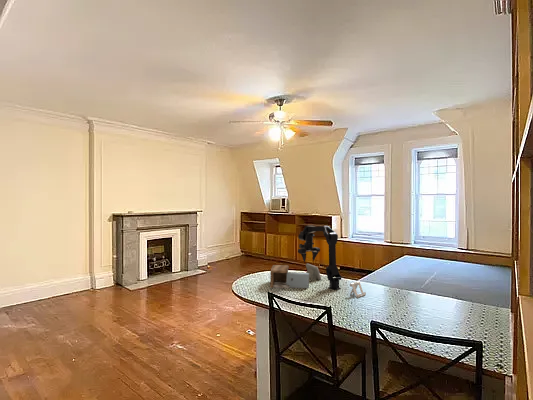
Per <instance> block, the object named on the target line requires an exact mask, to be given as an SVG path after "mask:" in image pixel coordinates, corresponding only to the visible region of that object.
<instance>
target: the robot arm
mask: <svg viewBox="0 0 533 400" xmlns="http://www.w3.org/2000/svg"><path fill="white" fill-rule="evenodd" d="M316 232H322V233H323V236H324V237H325V240H326V243H327V245H328V266H326V267H325V274H326V277H327V280H328V281H329V287H328V289H331V290H334V291H337V290H341V287H340V280H342V277H343V276H342V275H341V273H340V272H339V268H338V266H337V261H336V260H337V259H336V258H337V256H336V255H337V254H336V253H337V251H336V250H337V249H336V248H337V247H336V245H337V243H338V239H339V234H337V232H336V231H334V229H332V228H331V227H330V226H328V225H321V226H316V225H304V228H303V230H302V231H300V233H299V234H298V236H297V237H298V239H299V240H300V241H305V242H304V244H303V243H299V244H298V247H299V249H297V253H298V254H300V255H301V257H302V260H303V262H304V263H305V262H306V261H307V260H306V259H307V252H308V253H309V252H311V253H312V261H315V259H316V257H317V256H318V254H319V253H320V252H321V249H320V247H317V246H315V247H314V246H313V245H314V244H315V243H314V237H315V236H316V235H315V234H314V233H316Z"/></svg>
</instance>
